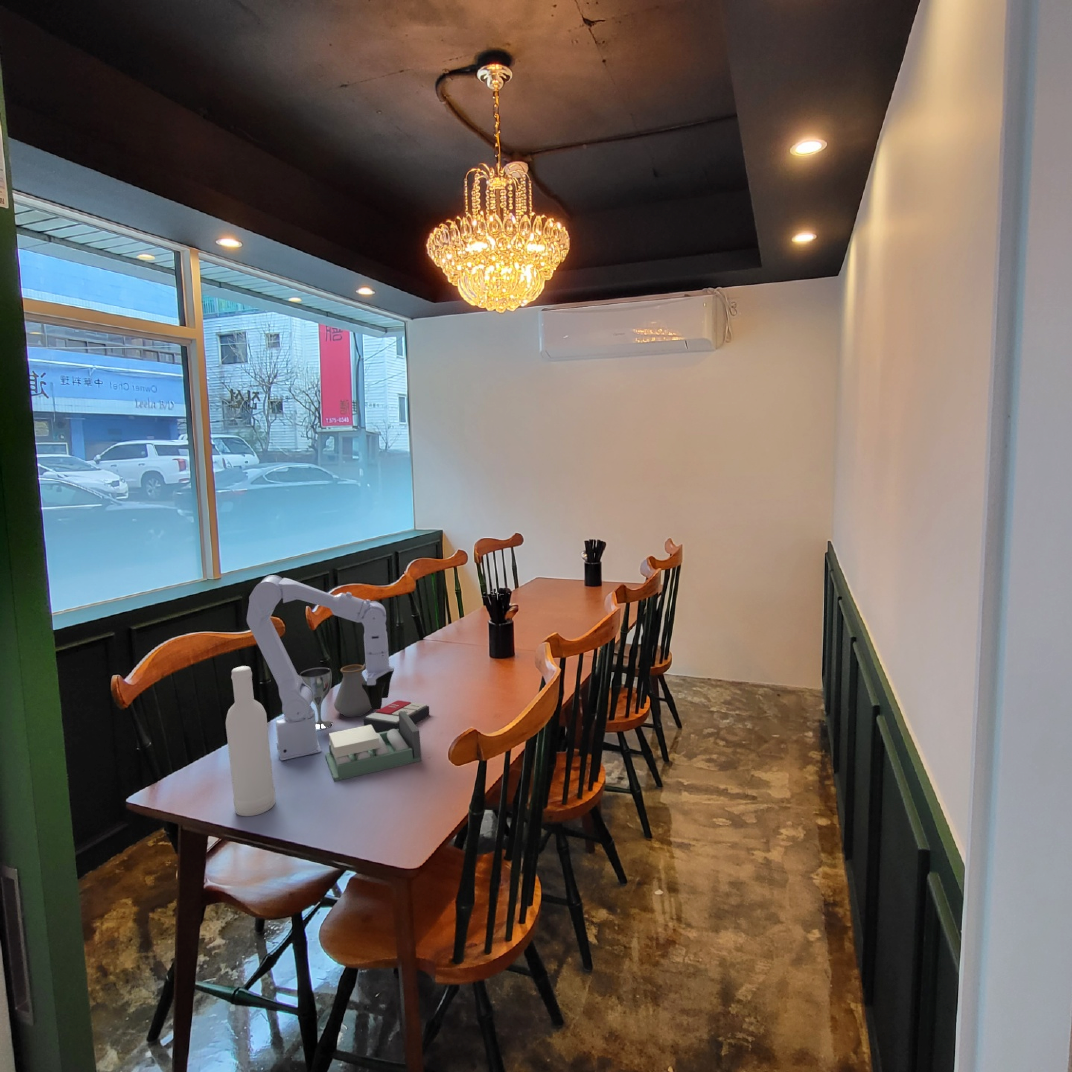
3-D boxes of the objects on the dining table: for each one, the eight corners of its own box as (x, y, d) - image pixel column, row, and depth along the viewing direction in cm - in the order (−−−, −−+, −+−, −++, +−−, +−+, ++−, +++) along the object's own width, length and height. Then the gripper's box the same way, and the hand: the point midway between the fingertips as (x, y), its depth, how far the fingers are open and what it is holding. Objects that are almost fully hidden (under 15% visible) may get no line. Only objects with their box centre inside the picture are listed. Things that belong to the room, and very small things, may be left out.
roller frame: (334, 781, 151) (331, 749, 150) (325, 756, 163) (322, 727, 162) (421, 760, 159) (419, 730, 158) (406, 738, 172) (404, 710, 171)
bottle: (263, 793, 147) (250, 660, 143) (283, 804, 142) (269, 666, 138) (227, 809, 141) (212, 670, 137) (246, 821, 136) (231, 677, 132)
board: (335, 757, 153) (334, 747, 152) (329, 742, 161) (328, 733, 161) (379, 747, 157) (378, 737, 157) (371, 733, 165) (371, 724, 165)
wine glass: (324, 717, 188) (320, 665, 186) (341, 723, 183) (336, 670, 181) (299, 727, 182) (294, 673, 180) (315, 734, 177) (310, 679, 175)
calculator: (429, 703, 187) (396, 721, 173) (430, 718, 187) (397, 737, 173) (397, 698, 191) (362, 715, 178) (397, 713, 192) (363, 731, 178)
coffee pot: (363, 721, 185) (359, 668, 183) (326, 718, 188) (322, 666, 186) (399, 693, 205) (395, 645, 203) (365, 691, 208) (361, 644, 206)
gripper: (385, 659, 161) (389, 713, 163) (398, 642, 176) (401, 692, 178) (356, 660, 162) (360, 714, 163) (371, 643, 176) (375, 693, 178)
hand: (380, 703), depth 170 cm, fingers open, 7 cm apart
